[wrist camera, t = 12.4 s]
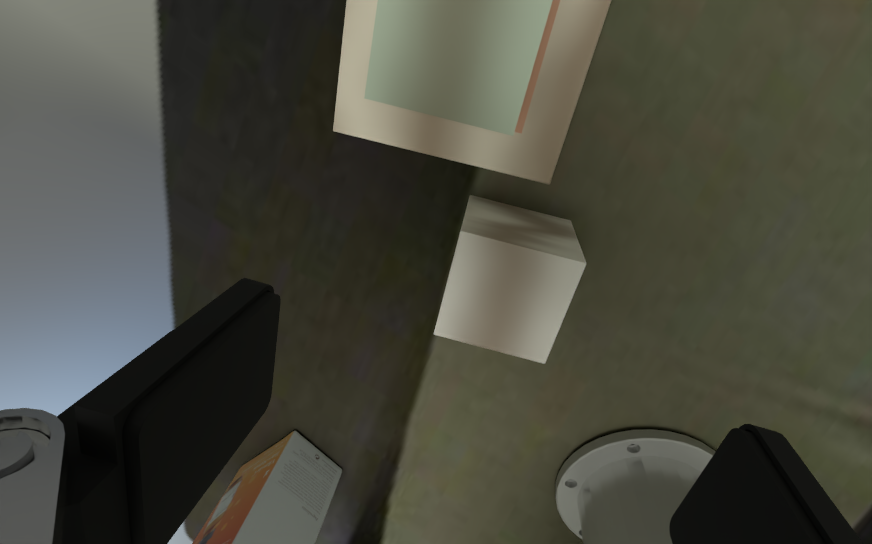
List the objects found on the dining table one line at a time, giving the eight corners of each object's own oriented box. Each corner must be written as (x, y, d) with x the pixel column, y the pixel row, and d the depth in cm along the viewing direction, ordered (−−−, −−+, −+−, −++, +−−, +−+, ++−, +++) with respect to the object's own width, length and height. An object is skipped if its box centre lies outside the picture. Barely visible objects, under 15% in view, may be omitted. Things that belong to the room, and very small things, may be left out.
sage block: (550, -23, 20) (566, -47, 15) (511, 115, 23) (513, 136, 18) (420, -54, 21) (390, -90, 15) (396, 86, 23) (364, 98, 18)
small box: (296, 427, 37) (225, 556, 28) (345, 469, 38) (293, 605, 29) (238, 465, 40) (157, 593, 31) (286, 503, 41) (222, 636, 32)
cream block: (570, 220, 27) (586, 263, 21) (537, 306, 29) (544, 363, 24) (470, 194, 27) (460, 230, 21) (446, 282, 29) (433, 334, 24)
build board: (634, -84, 20) (642, -92, 19) (547, 178, 26) (549, 184, 24) (370, -145, 20) (362, -157, 19) (340, 127, 26) (332, 131, 25)
